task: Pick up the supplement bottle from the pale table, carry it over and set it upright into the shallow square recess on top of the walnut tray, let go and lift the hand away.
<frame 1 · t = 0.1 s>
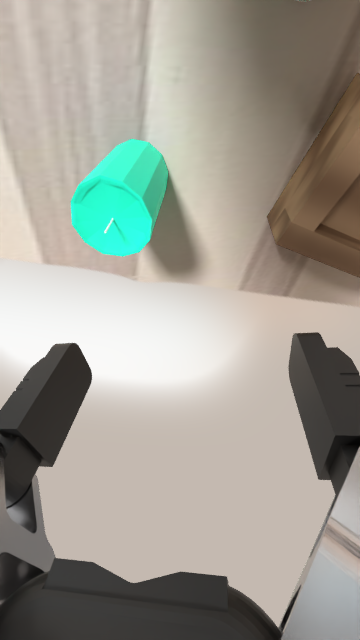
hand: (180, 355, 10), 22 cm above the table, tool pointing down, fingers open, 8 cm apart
candle: (139, 173, 26), on the table
walnut tray: (356, 182, 25), on the table
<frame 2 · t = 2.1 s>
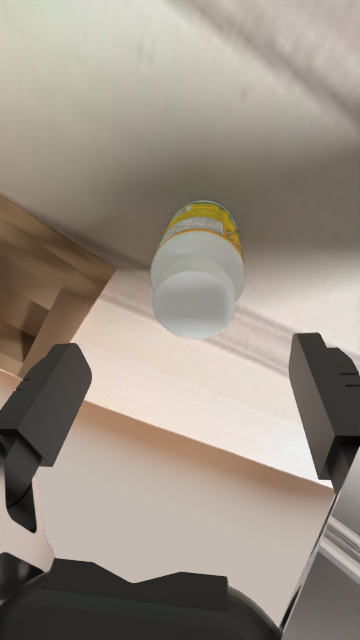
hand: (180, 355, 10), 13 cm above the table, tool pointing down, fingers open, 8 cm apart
walnut tray: (31, 276, 25), on the table
supplement bottle: (202, 235, 20), on the table
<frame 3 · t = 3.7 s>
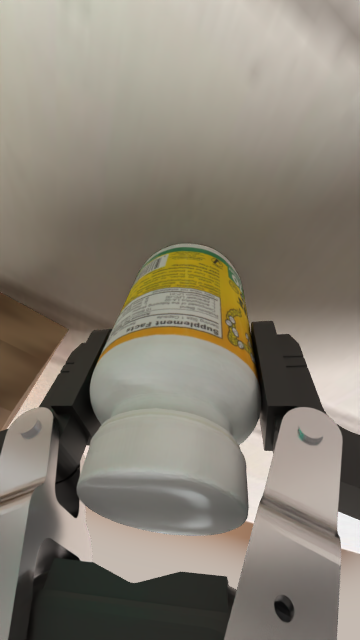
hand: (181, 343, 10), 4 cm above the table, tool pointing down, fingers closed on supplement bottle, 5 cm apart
supplement bottle: (189, 289, 14), on the table, touching gripper
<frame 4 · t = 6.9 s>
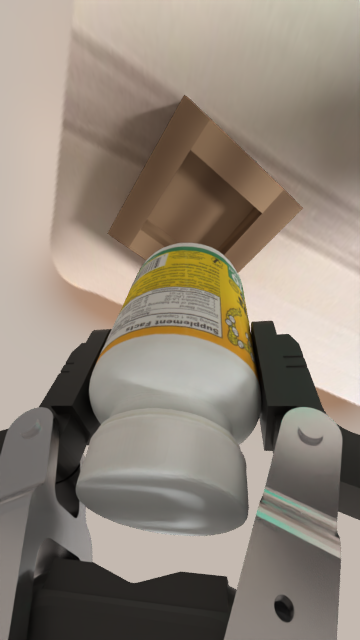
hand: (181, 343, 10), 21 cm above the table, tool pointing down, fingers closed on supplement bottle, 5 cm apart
walnut tray: (201, 203, 28), on the table
supplement bottle: (189, 288, 14), point 17 cm above the table, touching gripper
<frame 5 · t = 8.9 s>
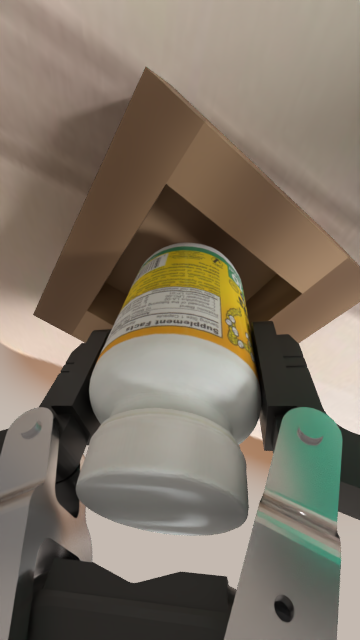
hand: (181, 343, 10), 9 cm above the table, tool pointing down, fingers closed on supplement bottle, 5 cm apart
walnut tray: (193, 252, 18), on the table
supplement bottle: (189, 288, 14), point 4 cm above the table, touching gripper
when the fingers open (8 cm above the table, at t = 10.5 s): supplement bottle drops 1 cm, point 2 cm above the table.
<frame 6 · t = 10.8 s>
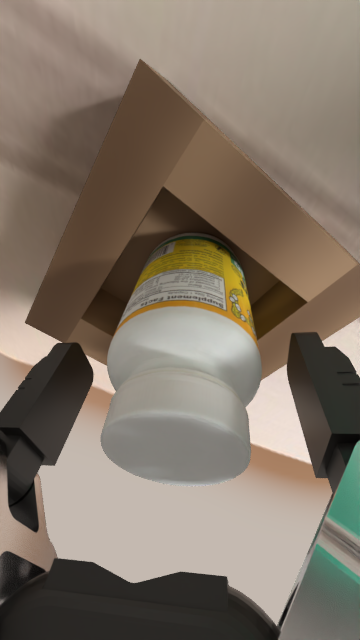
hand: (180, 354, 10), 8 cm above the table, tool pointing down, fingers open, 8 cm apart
walnut tray: (193, 256, 17), on the table
supplement bottle: (193, 276, 15), point 2 cm above the table
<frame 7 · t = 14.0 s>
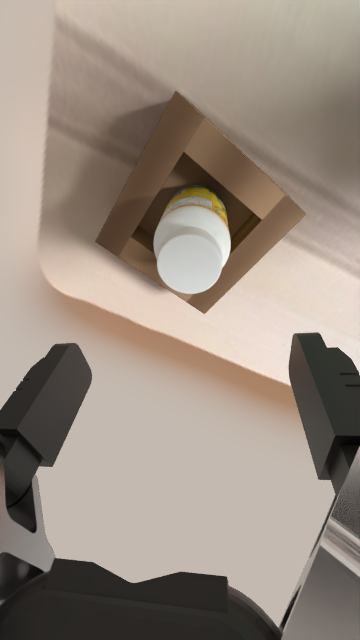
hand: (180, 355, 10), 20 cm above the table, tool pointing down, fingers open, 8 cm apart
walnut tray: (196, 208, 26), on the table, touching supplement bottle
supplement bottle: (195, 216, 24), point 2 cm above the table, touching walnut tray
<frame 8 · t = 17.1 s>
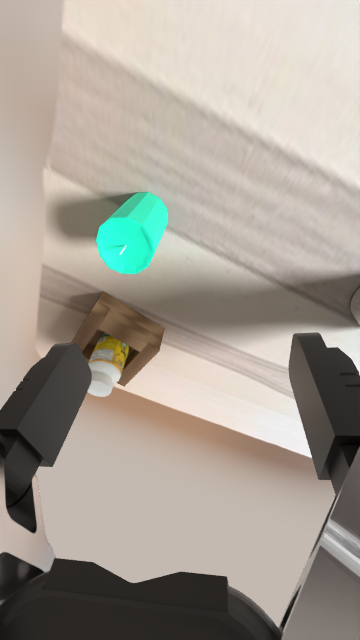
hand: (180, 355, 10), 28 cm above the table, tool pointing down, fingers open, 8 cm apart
candle: (146, 215, 35), on the table
walnut tray: (119, 330, 48), on the table, touching supplement bottle
supplement bottle: (115, 341, 46), point 3 cm above the table, touching walnut tray
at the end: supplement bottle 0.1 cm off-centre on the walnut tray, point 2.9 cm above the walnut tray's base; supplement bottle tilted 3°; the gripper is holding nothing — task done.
